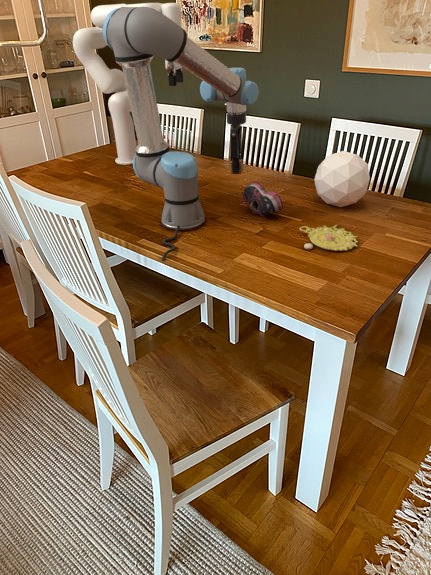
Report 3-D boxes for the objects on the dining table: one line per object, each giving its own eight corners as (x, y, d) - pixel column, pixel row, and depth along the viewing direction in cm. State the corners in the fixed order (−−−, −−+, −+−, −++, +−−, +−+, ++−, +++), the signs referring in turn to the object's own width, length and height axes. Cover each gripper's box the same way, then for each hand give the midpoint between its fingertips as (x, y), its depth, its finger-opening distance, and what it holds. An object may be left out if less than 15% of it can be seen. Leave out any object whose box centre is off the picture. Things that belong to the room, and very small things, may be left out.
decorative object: (343, 255, 128) (285, 234, 139) (342, 262, 130) (284, 241, 140) (372, 230, 142) (317, 213, 152) (371, 237, 143) (316, 219, 153)
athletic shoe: (254, 181, 170) (227, 189, 167) (283, 176, 151) (253, 185, 147) (260, 210, 173) (234, 218, 170) (290, 209, 154) (261, 219, 150)
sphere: (345, 225, 166) (360, 196, 147) (300, 198, 170) (308, 167, 152) (371, 189, 170) (388, 157, 152) (326, 164, 175) (337, 130, 156)
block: (232, 170, 186) (232, 159, 183) (242, 170, 185) (242, 159, 182) (230, 173, 182) (230, 162, 180) (240, 174, 181) (240, 162, 179)
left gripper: (171, 37, 189) (174, 81, 198) (157, 40, 175) (161, 87, 184) (187, 37, 188) (190, 81, 197) (175, 40, 173) (178, 87, 183)
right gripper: (230, 107, 178) (231, 165, 191) (222, 117, 164) (223, 178, 177) (249, 108, 177) (248, 165, 190) (242, 117, 163) (242, 179, 176)
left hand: (176, 84), depth 190 cm, fingers open, 9 cm apart
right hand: (236, 171), depth 183 cm, fingers closed on block, 4 cm apart
